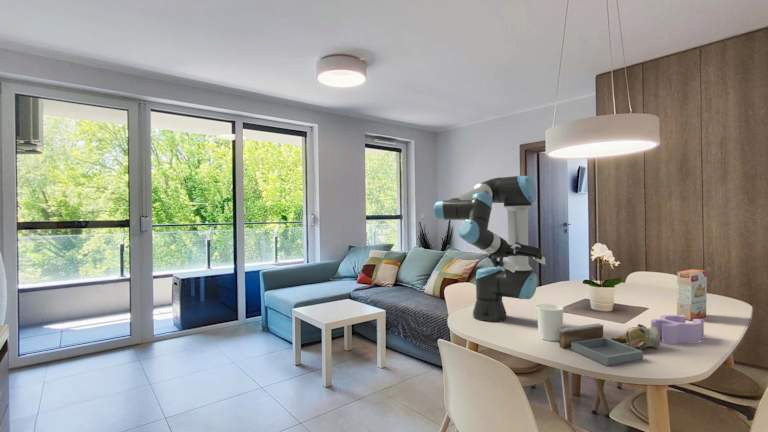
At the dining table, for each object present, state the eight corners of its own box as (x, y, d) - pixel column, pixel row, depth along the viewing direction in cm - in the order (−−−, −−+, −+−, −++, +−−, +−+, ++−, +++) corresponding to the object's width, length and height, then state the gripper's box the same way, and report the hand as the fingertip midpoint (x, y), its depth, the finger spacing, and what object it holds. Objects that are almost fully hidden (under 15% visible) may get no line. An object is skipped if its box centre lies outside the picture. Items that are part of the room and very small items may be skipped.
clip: (675, 347, 137) (675, 328, 137) (641, 337, 149) (641, 319, 149) (711, 339, 144) (711, 321, 144) (676, 330, 156) (675, 313, 156)
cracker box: (692, 321, 167) (692, 273, 166) (676, 318, 172) (676, 271, 172) (707, 316, 173) (707, 270, 173) (692, 313, 179) (691, 268, 178)
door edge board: (559, 346, 140) (558, 328, 140) (598, 340, 145) (598, 323, 145) (564, 349, 138) (563, 330, 137) (603, 342, 143) (603, 325, 143)
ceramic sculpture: (670, 326, 133) (629, 331, 131) (671, 351, 133) (631, 356, 132) (646, 318, 143) (608, 322, 142) (647, 341, 144) (610, 345, 142)
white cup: (541, 332, 157) (540, 302, 157) (567, 336, 151) (566, 306, 150) (533, 338, 149) (532, 307, 149) (560, 343, 143) (559, 311, 143)
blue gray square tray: (571, 350, 136) (571, 342, 136) (604, 345, 141) (604, 337, 141) (607, 366, 122) (607, 357, 122) (643, 360, 126) (643, 351, 126)
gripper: (467, 262, 149) (502, 280, 159) (522, 244, 131) (558, 267, 140) (468, 244, 153) (502, 263, 162) (522, 225, 134) (557, 248, 144)
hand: (528, 265), depth 151 cm, fingers open, 13 cm apart
